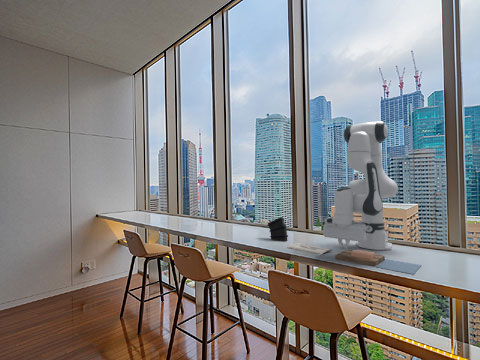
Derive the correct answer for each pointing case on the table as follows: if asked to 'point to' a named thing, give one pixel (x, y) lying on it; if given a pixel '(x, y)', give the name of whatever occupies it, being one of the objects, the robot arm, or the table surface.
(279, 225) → the black folded cloth
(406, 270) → the mat
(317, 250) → the newspaper
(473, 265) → the table surface
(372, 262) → the deck
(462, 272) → the table surface
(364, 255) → the salmon pink block
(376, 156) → the robot arm
